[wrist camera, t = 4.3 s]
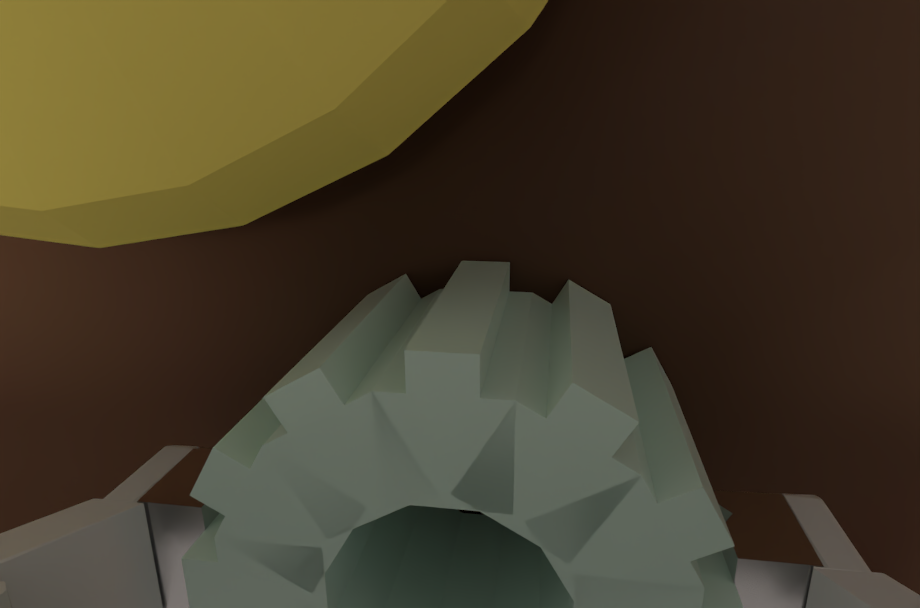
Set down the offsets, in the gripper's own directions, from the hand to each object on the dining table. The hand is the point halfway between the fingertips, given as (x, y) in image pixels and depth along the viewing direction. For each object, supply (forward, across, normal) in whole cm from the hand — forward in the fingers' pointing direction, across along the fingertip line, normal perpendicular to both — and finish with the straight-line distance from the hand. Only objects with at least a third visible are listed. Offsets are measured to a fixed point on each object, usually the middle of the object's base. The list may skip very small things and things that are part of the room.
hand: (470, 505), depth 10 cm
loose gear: (+2, 0, 0) cm, 2 cm away
